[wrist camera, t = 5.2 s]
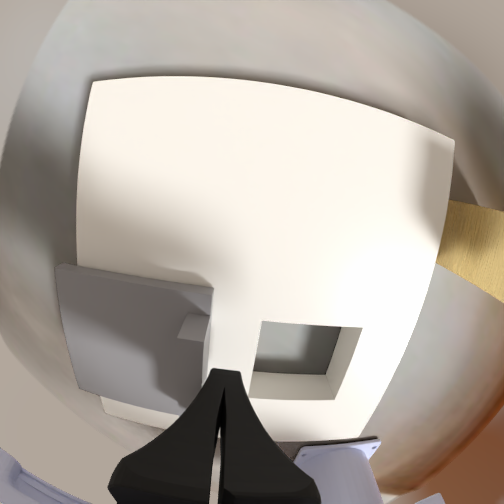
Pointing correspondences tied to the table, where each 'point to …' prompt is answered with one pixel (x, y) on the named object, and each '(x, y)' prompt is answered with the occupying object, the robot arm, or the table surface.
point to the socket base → (269, 228)
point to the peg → (474, 246)
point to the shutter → (136, 336)
